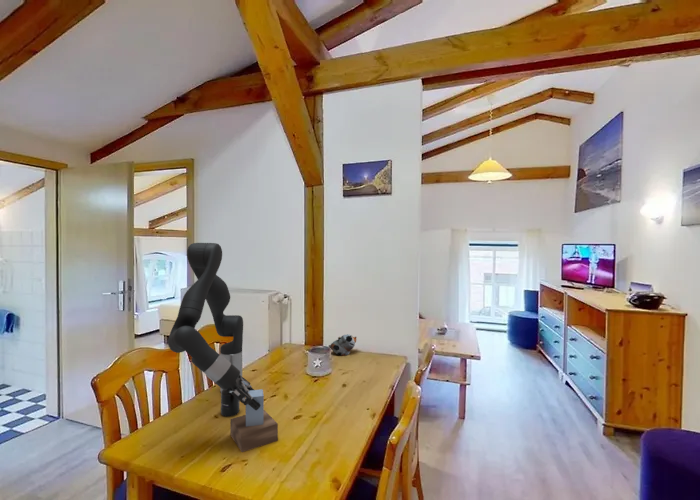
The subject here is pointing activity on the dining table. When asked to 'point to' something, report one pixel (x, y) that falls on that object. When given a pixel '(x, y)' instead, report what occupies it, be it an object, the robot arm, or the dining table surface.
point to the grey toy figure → (343, 345)
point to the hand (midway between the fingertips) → (258, 402)
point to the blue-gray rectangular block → (255, 415)
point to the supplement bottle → (229, 403)
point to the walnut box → (253, 432)
